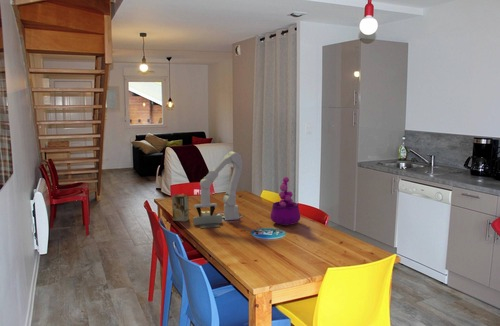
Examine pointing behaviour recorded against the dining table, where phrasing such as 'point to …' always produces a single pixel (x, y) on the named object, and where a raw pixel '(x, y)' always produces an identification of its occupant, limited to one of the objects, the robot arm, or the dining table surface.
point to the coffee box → (180, 207)
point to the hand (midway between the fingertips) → (205, 218)
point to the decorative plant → (285, 207)
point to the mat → (209, 225)
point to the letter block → (205, 213)
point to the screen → (207, 219)
